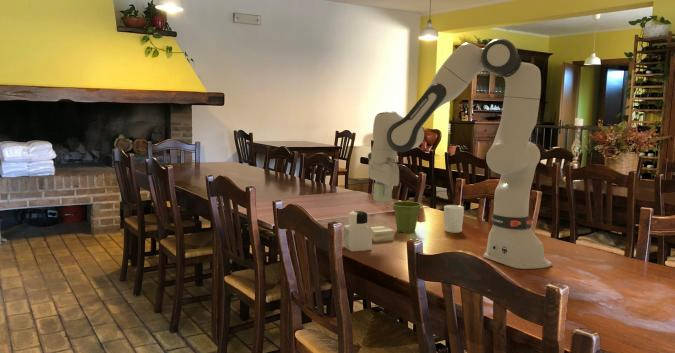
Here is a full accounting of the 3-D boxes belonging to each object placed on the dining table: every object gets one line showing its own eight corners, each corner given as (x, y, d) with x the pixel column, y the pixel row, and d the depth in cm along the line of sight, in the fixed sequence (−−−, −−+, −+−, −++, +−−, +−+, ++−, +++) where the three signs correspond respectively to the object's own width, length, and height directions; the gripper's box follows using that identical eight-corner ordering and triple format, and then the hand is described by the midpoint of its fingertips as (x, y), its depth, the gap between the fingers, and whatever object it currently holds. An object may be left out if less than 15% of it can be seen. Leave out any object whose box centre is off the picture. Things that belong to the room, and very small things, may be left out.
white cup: (463, 233, 212) (464, 209, 211) (443, 232, 214) (444, 207, 212) (462, 229, 220) (463, 205, 218) (443, 228, 221) (444, 204, 220)
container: (363, 244, 193) (363, 209, 191) (372, 250, 185) (372, 213, 184) (343, 246, 190) (343, 210, 188) (351, 252, 183) (352, 214, 181)
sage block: (391, 201, 192) (392, 185, 192) (378, 201, 191) (379, 185, 190) (386, 199, 197) (386, 183, 196) (373, 199, 196) (374, 183, 195)
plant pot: (385, 229, 218) (386, 202, 216) (409, 227, 223) (410, 200, 222) (401, 235, 207) (402, 207, 206) (426, 233, 213) (427, 205, 211)
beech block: (393, 240, 200) (393, 230, 200) (375, 242, 197) (375, 232, 196) (383, 236, 208) (383, 226, 207) (364, 237, 204) (365, 227, 204)
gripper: (404, 159, 183) (402, 199, 185) (381, 154, 202) (380, 190, 204) (387, 159, 181) (385, 200, 183) (366, 154, 200) (364, 190, 202)
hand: (382, 194), depth 194 cm, fingers closed on sage block, 5 cm apart
